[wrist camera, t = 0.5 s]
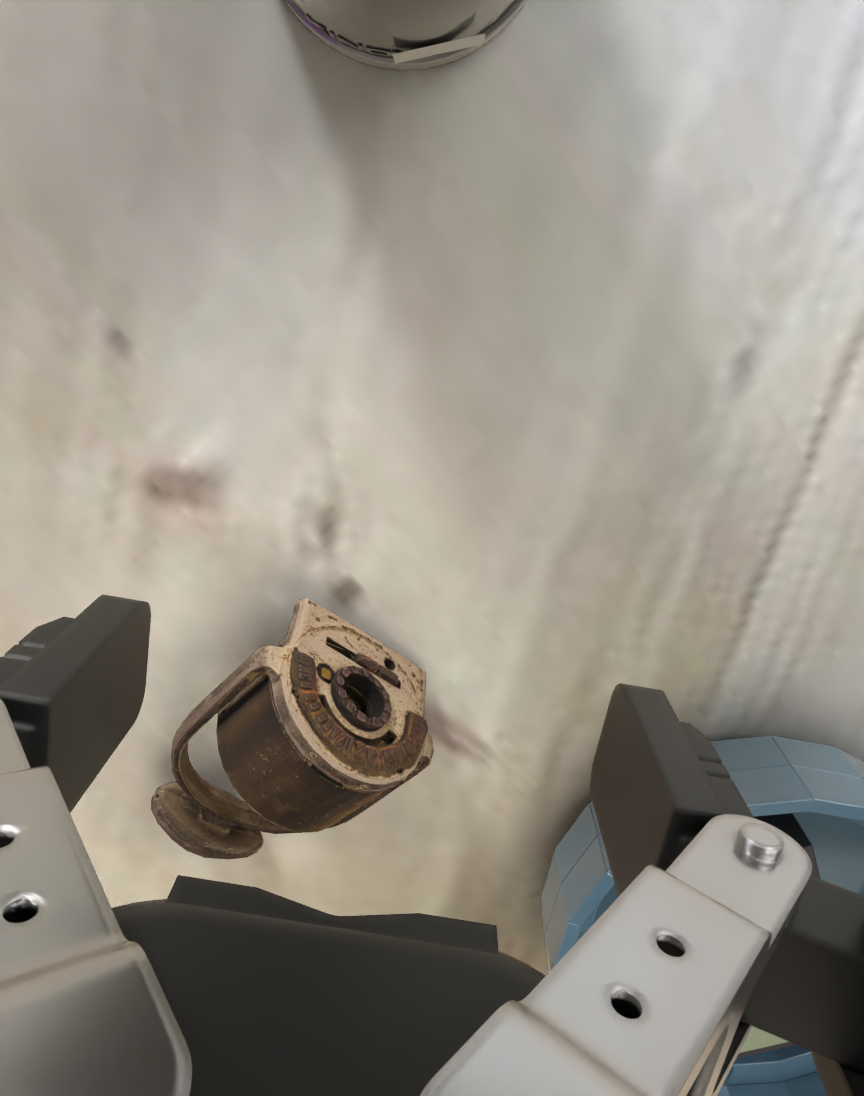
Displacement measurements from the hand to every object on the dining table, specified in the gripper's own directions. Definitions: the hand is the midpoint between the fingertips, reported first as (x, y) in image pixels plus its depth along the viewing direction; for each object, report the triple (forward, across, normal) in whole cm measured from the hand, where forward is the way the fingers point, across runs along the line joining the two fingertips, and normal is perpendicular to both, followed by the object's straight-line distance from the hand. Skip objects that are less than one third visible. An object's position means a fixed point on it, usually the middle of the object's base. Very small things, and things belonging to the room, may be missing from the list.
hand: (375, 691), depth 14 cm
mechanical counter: (+18, +4, +12) cm, 22 cm away
